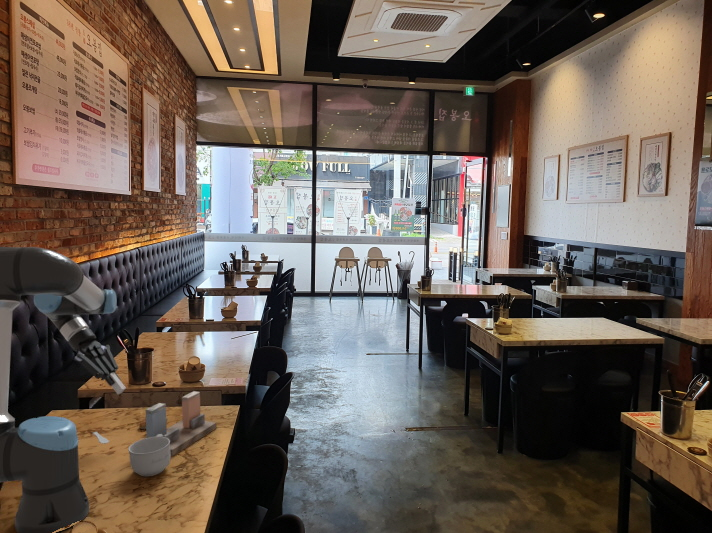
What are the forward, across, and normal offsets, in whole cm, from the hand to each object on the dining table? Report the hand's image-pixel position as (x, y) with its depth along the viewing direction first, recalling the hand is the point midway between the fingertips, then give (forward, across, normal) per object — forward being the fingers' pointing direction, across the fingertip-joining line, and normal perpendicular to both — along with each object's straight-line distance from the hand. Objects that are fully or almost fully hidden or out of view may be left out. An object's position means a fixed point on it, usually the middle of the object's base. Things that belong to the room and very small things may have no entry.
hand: (121, 391), depth 168 cm
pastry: (+12, -12, -10) cm, 20 cm away
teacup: (+27, +13, +5) cm, 31 cm away
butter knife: (+2, -1, -21) cm, 21 cm away
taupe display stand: (+23, -6, +1) cm, 24 cm away
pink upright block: (+21, -12, +3) cm, 25 cm away
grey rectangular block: (+19, +1, 0) cm, 19 cm away
